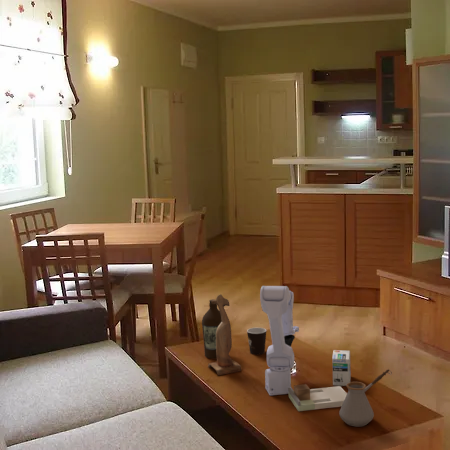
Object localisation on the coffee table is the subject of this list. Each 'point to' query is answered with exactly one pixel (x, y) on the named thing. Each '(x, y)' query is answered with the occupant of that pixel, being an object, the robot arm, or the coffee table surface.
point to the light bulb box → (341, 367)
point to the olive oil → (211, 329)
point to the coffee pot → (358, 404)
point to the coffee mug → (256, 340)
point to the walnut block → (302, 392)
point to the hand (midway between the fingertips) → (286, 353)
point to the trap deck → (319, 398)
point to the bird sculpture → (224, 342)
